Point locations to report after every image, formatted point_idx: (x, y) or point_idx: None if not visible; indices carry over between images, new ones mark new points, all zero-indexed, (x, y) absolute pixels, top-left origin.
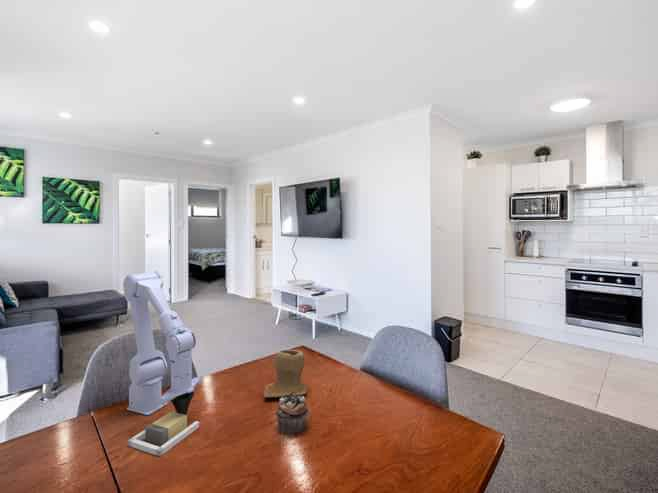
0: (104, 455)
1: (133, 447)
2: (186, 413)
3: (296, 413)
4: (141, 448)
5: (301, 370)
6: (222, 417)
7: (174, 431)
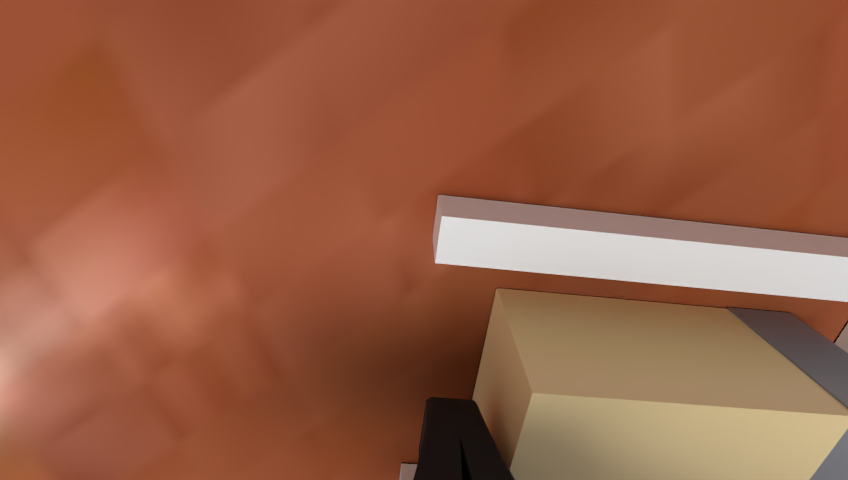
0: None
1: None
2: (440, 425)
3: None
4: None
5: None
6: (148, 31)
7: (695, 342)
